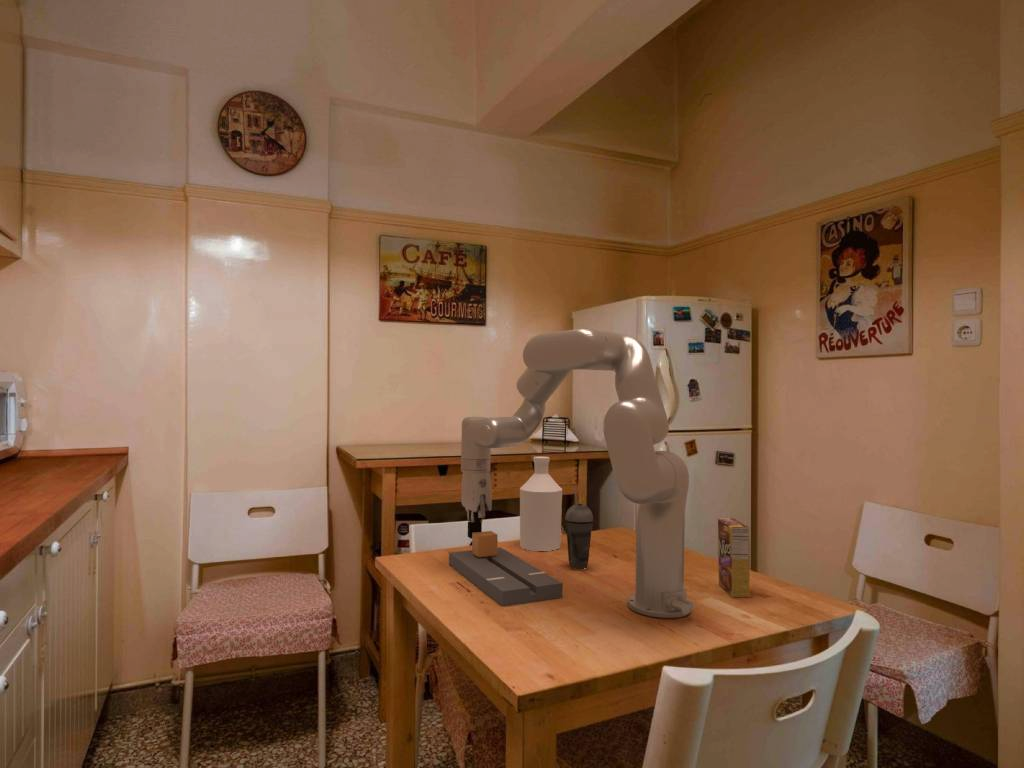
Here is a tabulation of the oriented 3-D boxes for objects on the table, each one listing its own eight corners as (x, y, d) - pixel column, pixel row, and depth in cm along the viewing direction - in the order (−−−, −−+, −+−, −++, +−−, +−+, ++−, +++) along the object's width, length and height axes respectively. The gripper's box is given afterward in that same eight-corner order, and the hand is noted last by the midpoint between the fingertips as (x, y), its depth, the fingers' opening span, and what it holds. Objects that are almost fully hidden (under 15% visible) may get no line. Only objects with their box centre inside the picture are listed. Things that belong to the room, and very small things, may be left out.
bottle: (557, 553, 164) (559, 460, 164) (514, 550, 167) (516, 458, 167) (564, 543, 176) (565, 456, 176) (524, 540, 178) (525, 454, 179)
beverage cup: (594, 571, 148) (596, 488, 148) (564, 571, 148) (565, 488, 148) (591, 563, 155) (592, 484, 155) (562, 562, 155) (564, 483, 156)
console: (562, 597, 129) (562, 582, 129) (502, 606, 123) (502, 590, 123) (500, 558, 158) (500, 546, 158) (448, 564, 152) (449, 552, 152)
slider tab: (497, 561, 149) (497, 534, 149) (478, 563, 147) (478, 536, 147) (490, 557, 152) (490, 531, 152) (471, 559, 150) (472, 532, 150)
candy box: (716, 584, 139) (717, 517, 140) (735, 585, 139) (736, 517, 140) (730, 597, 130) (730, 526, 131) (750, 598, 130) (751, 526, 131)
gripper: (501, 468, 151) (500, 542, 150) (478, 461, 164) (477, 530, 164) (472, 469, 147) (471, 545, 147) (451, 462, 161) (450, 532, 161)
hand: (474, 537), depth 156 cm, fingers closed
